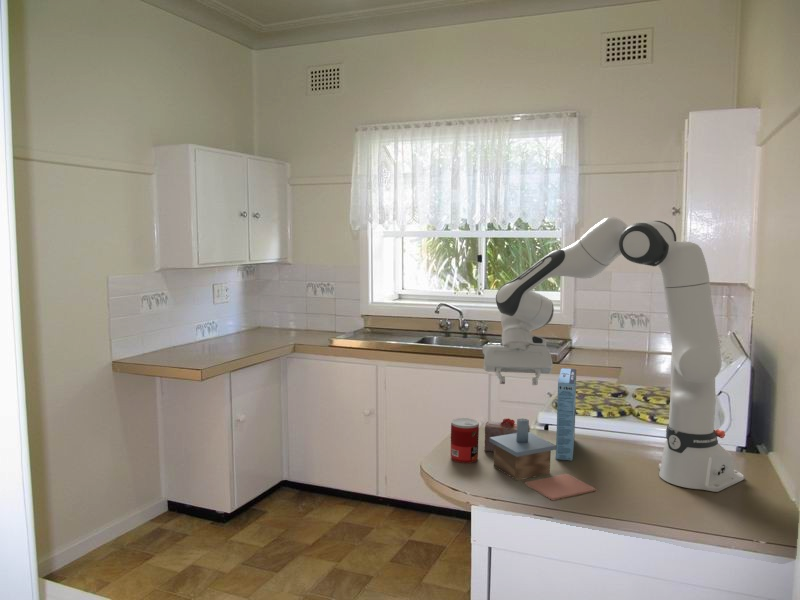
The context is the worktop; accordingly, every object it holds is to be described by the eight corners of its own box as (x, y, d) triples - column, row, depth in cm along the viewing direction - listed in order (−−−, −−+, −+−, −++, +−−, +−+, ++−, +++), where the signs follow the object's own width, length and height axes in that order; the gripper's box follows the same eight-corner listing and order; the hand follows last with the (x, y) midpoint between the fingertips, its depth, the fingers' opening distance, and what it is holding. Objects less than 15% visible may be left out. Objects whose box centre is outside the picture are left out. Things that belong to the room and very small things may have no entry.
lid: (527, 438, 189) (527, 411, 188) (555, 453, 177) (557, 424, 176) (489, 444, 184) (489, 416, 182) (516, 460, 172) (517, 430, 171)
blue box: (572, 461, 188) (575, 383, 185) (554, 459, 189) (557, 382, 186) (574, 439, 206) (577, 368, 204) (558, 438, 208) (561, 367, 205)
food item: (530, 448, 198) (531, 417, 197) (529, 458, 190) (530, 425, 189) (485, 444, 202) (486, 413, 200) (482, 453, 194) (483, 421, 193)
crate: (525, 460, 189) (526, 436, 188) (549, 473, 179) (550, 449, 178) (493, 466, 184) (494, 442, 183) (516, 480, 174) (517, 455, 173)
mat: (567, 475, 178) (567, 473, 177) (595, 490, 168) (595, 488, 168) (525, 484, 172) (525, 482, 171) (551, 500, 162) (551, 498, 162)
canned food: (476, 464, 185) (477, 427, 184) (448, 462, 187) (449, 425, 185) (479, 455, 192) (479, 418, 191) (452, 452, 194) (452, 417, 193)
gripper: (482, 337, 197) (483, 376, 189) (551, 339, 196) (555, 379, 187) (481, 348, 202) (482, 387, 194) (548, 351, 201) (551, 390, 192)
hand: (518, 383), depth 191 cm, fingers open, 8 cm apart
